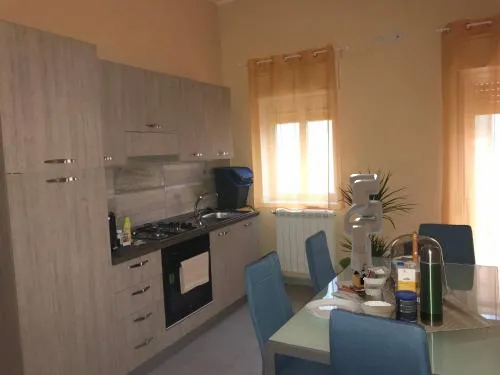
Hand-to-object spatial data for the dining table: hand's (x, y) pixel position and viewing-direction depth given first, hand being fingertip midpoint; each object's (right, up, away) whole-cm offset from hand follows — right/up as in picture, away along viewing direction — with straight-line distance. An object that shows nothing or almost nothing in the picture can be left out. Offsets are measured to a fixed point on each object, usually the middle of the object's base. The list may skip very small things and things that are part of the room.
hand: (360, 282), depth 210 cm
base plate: (0, -4, 0) cm, 4 cm away
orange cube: (0, -2, 0) cm, 2 cm away
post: (0, -2, 0) cm, 2 cm away
